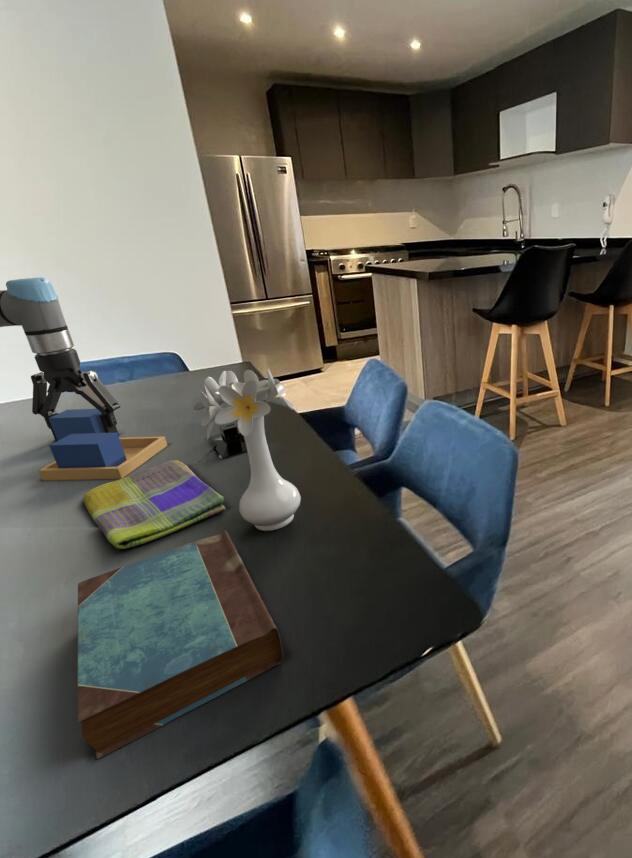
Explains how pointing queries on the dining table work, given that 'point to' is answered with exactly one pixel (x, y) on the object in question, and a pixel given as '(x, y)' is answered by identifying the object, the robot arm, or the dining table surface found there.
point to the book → (167, 639)
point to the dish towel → (151, 504)
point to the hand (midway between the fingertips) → (88, 439)
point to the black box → (230, 441)
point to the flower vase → (252, 443)
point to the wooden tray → (135, 454)
